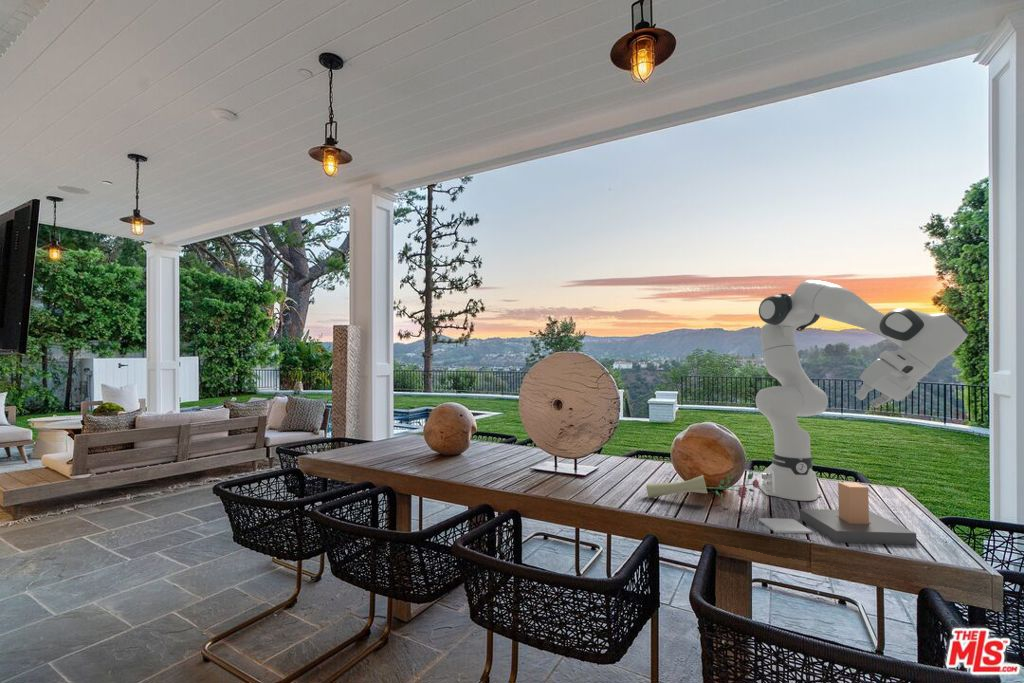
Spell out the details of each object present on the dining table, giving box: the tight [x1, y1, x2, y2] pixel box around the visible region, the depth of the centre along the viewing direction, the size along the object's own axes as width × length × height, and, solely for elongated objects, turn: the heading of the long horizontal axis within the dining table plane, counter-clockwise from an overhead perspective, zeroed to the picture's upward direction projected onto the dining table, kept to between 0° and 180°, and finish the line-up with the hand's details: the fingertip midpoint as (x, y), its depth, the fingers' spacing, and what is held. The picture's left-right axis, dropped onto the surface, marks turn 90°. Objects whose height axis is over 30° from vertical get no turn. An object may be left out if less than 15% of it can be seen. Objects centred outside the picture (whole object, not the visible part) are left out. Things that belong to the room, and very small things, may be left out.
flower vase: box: [645, 471, 759, 509], centre depth 155 cm, size 12×12×35 cm
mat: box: [758, 517, 813, 534], centre depth 135 cm, size 10×10×1 cm
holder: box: [799, 508, 917, 545], centre depth 131 cm, size 18×20×3 cm
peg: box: [837, 481, 870, 524], centre depth 132 cm, size 5×5×13 cm
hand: (865, 402), depth 133 cm, fingers open, 8 cm apart
